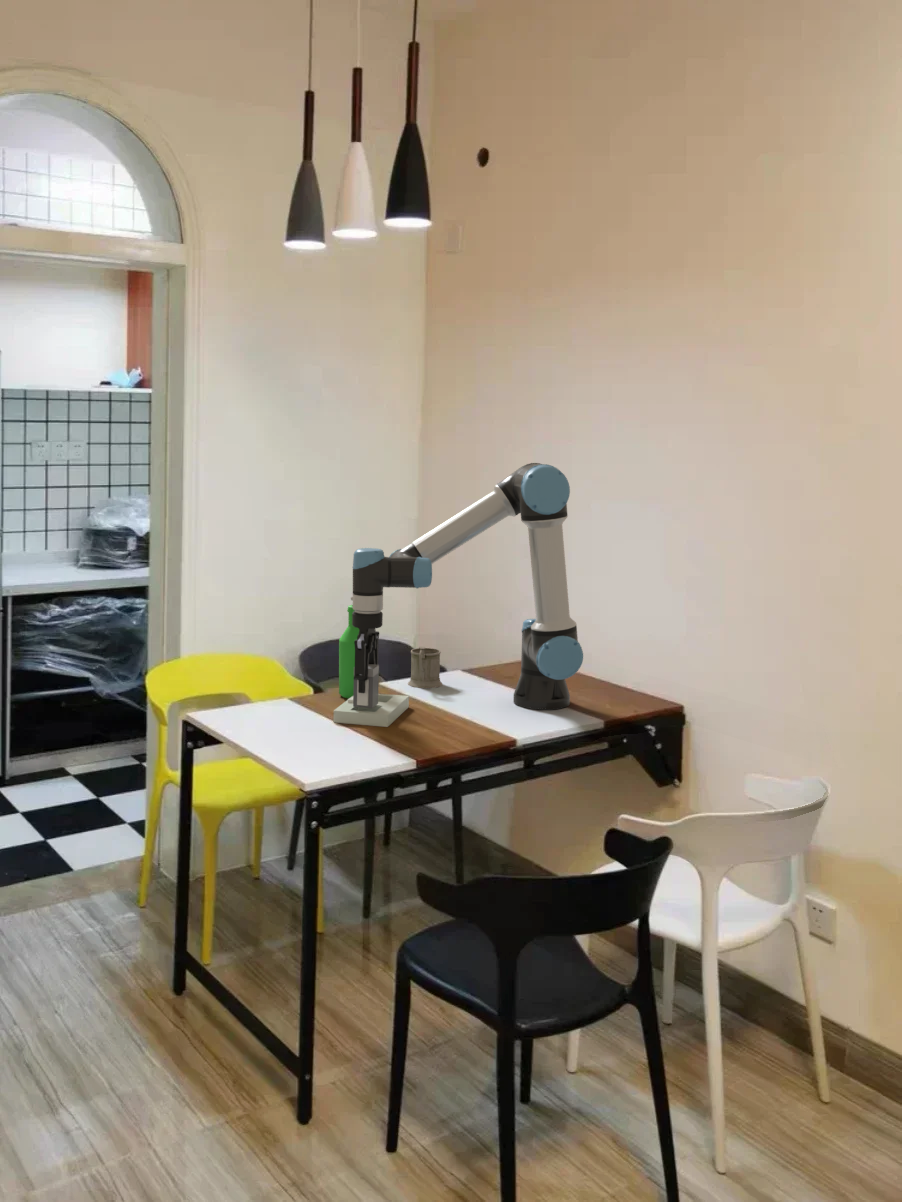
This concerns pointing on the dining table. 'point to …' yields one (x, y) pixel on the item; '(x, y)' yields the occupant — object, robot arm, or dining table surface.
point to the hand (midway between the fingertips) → (366, 702)
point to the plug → (373, 687)
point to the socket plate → (372, 711)
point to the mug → (425, 668)
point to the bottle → (347, 657)
